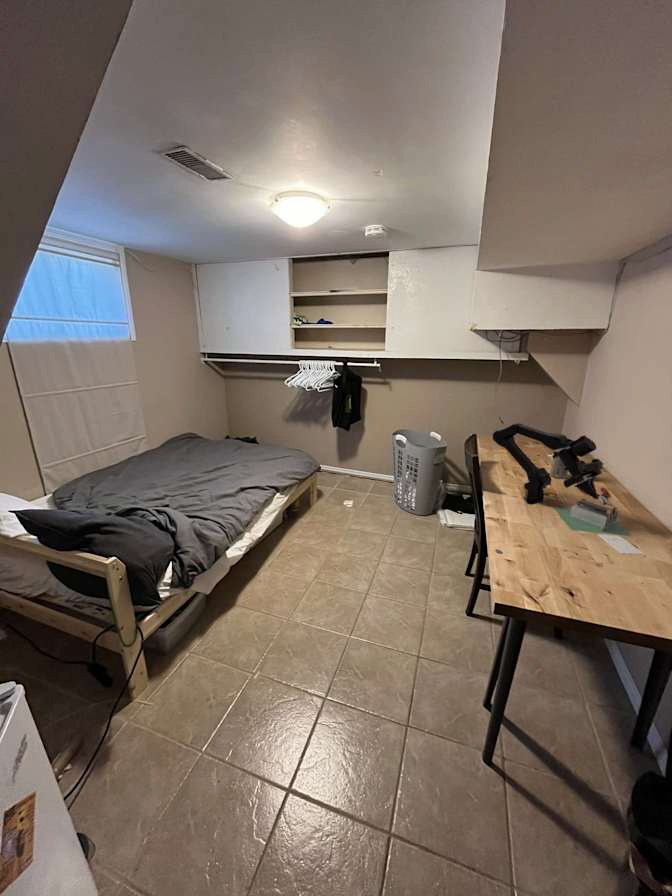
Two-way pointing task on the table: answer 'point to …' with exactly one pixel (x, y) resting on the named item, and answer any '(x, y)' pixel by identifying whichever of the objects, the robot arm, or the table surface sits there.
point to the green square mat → (578, 526)
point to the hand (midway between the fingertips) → (596, 497)
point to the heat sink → (593, 516)
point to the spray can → (558, 467)
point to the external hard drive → (620, 544)
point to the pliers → (602, 497)
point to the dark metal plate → (595, 506)
